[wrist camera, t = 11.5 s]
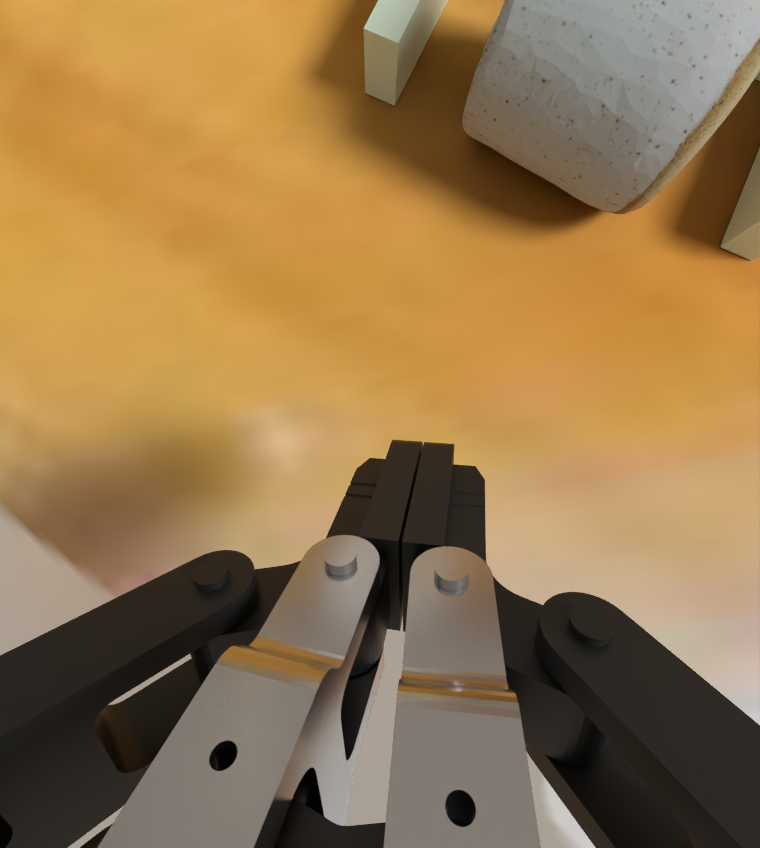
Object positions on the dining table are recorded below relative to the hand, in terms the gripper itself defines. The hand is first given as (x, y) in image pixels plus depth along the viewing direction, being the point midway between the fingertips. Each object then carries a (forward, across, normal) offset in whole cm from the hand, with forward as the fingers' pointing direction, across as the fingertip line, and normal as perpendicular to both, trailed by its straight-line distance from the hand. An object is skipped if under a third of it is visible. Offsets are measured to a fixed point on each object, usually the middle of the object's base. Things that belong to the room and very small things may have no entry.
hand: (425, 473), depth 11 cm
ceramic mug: (+17, +5, +9) cm, 20 cm away
